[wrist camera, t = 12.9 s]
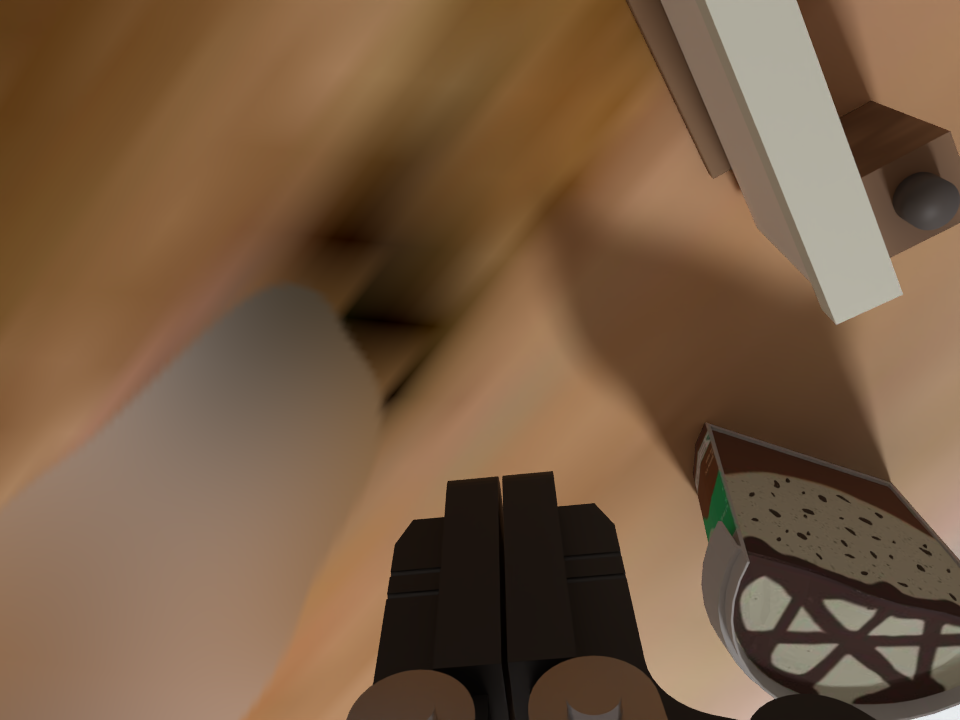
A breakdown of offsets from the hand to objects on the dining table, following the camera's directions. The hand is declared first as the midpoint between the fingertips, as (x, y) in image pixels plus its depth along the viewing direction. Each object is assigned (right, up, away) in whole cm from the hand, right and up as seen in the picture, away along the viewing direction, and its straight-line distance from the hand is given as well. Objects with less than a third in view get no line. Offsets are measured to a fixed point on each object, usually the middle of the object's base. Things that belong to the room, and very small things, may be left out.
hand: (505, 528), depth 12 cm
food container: (+13, -4, +28) cm, 31 cm away
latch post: (+14, +10, +20) cm, 27 cm away
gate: (+7, +15, +17) cm, 24 cm away
